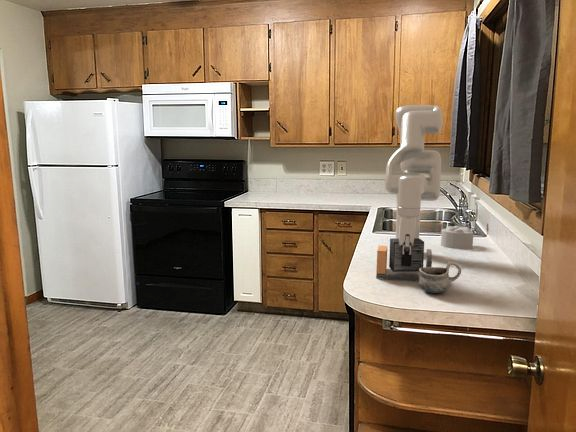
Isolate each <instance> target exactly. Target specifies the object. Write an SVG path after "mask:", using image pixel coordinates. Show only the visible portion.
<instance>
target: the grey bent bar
mask: <svg viewBox="0 0 576 432" xmlns="http://www.w3.org/2000/svg"><path fill="white" fill-rule="evenodd" d="M432 252H433V251H432V249H429V248H426V255H425V267H433V264H432V263H433V253H432ZM375 278H376V279H378V280H389V281H391V280H392V281H405V282H417V283H418V282H419V278H420V272H419V271H418V272H393V271H392V270H391V269H390V268H386V273H385V274H378V273H376V275H375Z"/></svg>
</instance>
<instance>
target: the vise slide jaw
mask: <svg viewBox="0 0 576 432" xmlns="http://www.w3.org/2000/svg"><path fill="white" fill-rule="evenodd" d="M387 262H388V245H378V247H377V251H376V274H377V273H378V274H385V273H386V269H388V268H387V265H388V264H387Z"/></svg>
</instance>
